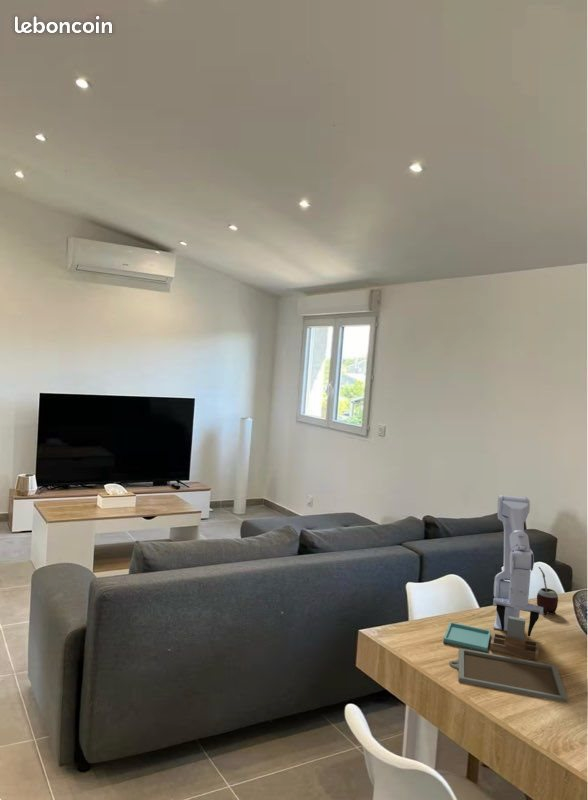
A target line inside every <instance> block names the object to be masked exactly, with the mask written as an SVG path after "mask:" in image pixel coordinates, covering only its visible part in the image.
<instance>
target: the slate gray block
mask: <svg viewBox="0 0 588 800" xmlns="http://www.w3.org/2000/svg"><path fill="white" fill-rule="evenodd" d="M525 630H526V619H525V618H522V617H519V618H517V617H512V616H508V626H507V631H506V636H507V637H511V638H516V639H521V640H525Z"/></svg>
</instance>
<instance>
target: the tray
mask: <svg viewBox="0 0 588 800" xmlns="http://www.w3.org/2000/svg"><path fill="white" fill-rule="evenodd" d="M445 631H446V632H445V633H444V635H443V640H442V641H443V643H444V644H446V643H447V644H448V645H452V646H456V647H460V648H463V649H467V650H472V651H477V650H478V652H481V651H482V652H483V653H488V650H489V644H490V642H491V637H492V632H491V630H489V629H483V628H479V627H476V626H471V625H466V624H461V623H456V622H452V621H450V622H449V624H448V626H447V629H446V630H445Z"/></svg>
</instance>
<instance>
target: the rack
mask: <svg viewBox="0 0 588 800" xmlns="http://www.w3.org/2000/svg"><path fill="white" fill-rule="evenodd" d="M505 636H507V634H506V635H504V634H499V633H496V632H492V633H491V638H490V643H489V644H490V646H489V647H490V648H489V650H490V651H493V652H498V653H501V654H506V655H509V656H510V655H511V656H515V657H518V658H519V657H520V658H524V659H526V660H527V659H528V660H531V661H535V662H538V660H539V652H540V651H539V644H540V643H539V642H538V641H537V642H536V641H533V640H529V639H528V640H527V639H524V640H525V641H526V642H525V650H524V649H519V648H515V647H510V646H506V645H504V639H505Z"/></svg>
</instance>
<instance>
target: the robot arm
mask: <svg viewBox="0 0 588 800" xmlns="http://www.w3.org/2000/svg"><path fill="white" fill-rule="evenodd" d="M530 503H531V501H530V499H529V497H527V496H523V497H521V496H513V495H504V494H499V496H498V498H497V520H500V522H501V523H502V525H503V526H502V527H503V567H502V569H503V570H502V571H500V572H498V573H497V574H495V576H494V583H493V596H494V598H493V603H492V606H493V607H494V606H495V607H496V615H495V616H496V617H495V620H494V625H493V629H496V630H500V631H502V632H504V631H505V632H507V626H508V616H512V617H517V618H520V613H521V611H523V612H528V613H529V623H528V630H527V637H531V634H532V631H533V628H534V626H535V624H536V623H537V622H538V620H539V618H540V616H543V615H544V612H543V607H540V606H537V604H536V605H535V604H532V603H530V602H529V596H530V584H531V583H530V582H531V572H532V571H534V565H535V558H534V557H535V555H534V552H533V550H532V549H531V547H530V541H529V535H528V533H526V532H525V525H524V524H525V522H526V520H527V518H528V517H529V516H528V515H529V513H530V510H531V509H530V508H531V506H530V505H531V504H530Z"/></svg>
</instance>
